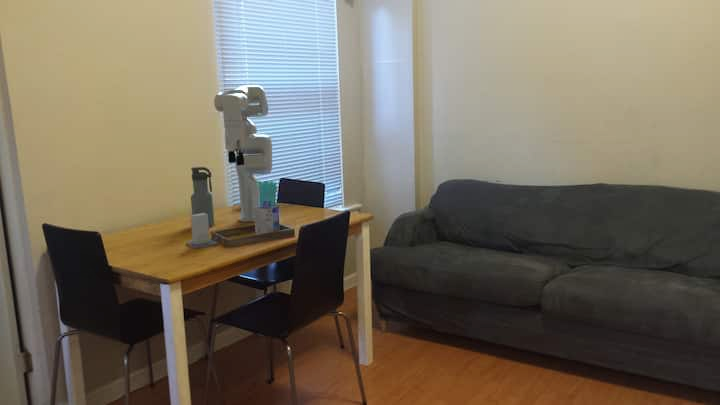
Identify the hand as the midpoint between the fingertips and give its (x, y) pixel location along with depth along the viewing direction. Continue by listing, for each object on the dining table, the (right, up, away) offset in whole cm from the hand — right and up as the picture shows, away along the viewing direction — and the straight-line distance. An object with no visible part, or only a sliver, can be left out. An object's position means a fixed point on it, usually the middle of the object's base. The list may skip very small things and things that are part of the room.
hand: (236, 163), depth 256 cm
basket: (-1, -19, +68) cm, 71 cm away
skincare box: (-12, -34, -11) cm, 37 cm away
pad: (-12, -34, -11) cm, 38 cm away
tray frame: (+7, -32, -1) cm, 32 cm away
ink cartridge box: (+13, -31, +3) cm, 34 cm away
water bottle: (-20, -28, +25) cm, 43 cm away
